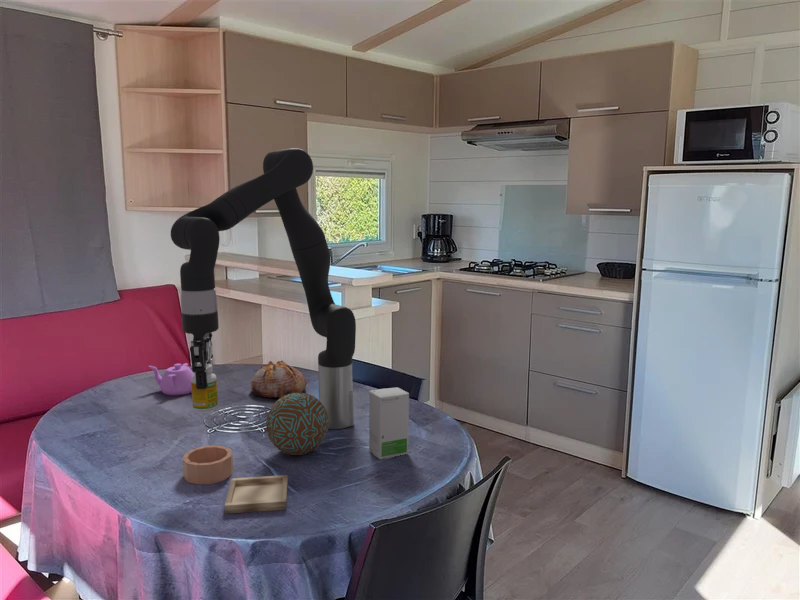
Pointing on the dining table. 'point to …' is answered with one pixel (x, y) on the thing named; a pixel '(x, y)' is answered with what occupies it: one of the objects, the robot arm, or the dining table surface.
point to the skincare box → (388, 422)
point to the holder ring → (207, 464)
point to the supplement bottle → (205, 392)
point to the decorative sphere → (297, 423)
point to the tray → (257, 494)
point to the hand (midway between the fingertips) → (204, 384)
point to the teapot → (175, 379)
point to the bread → (277, 380)
